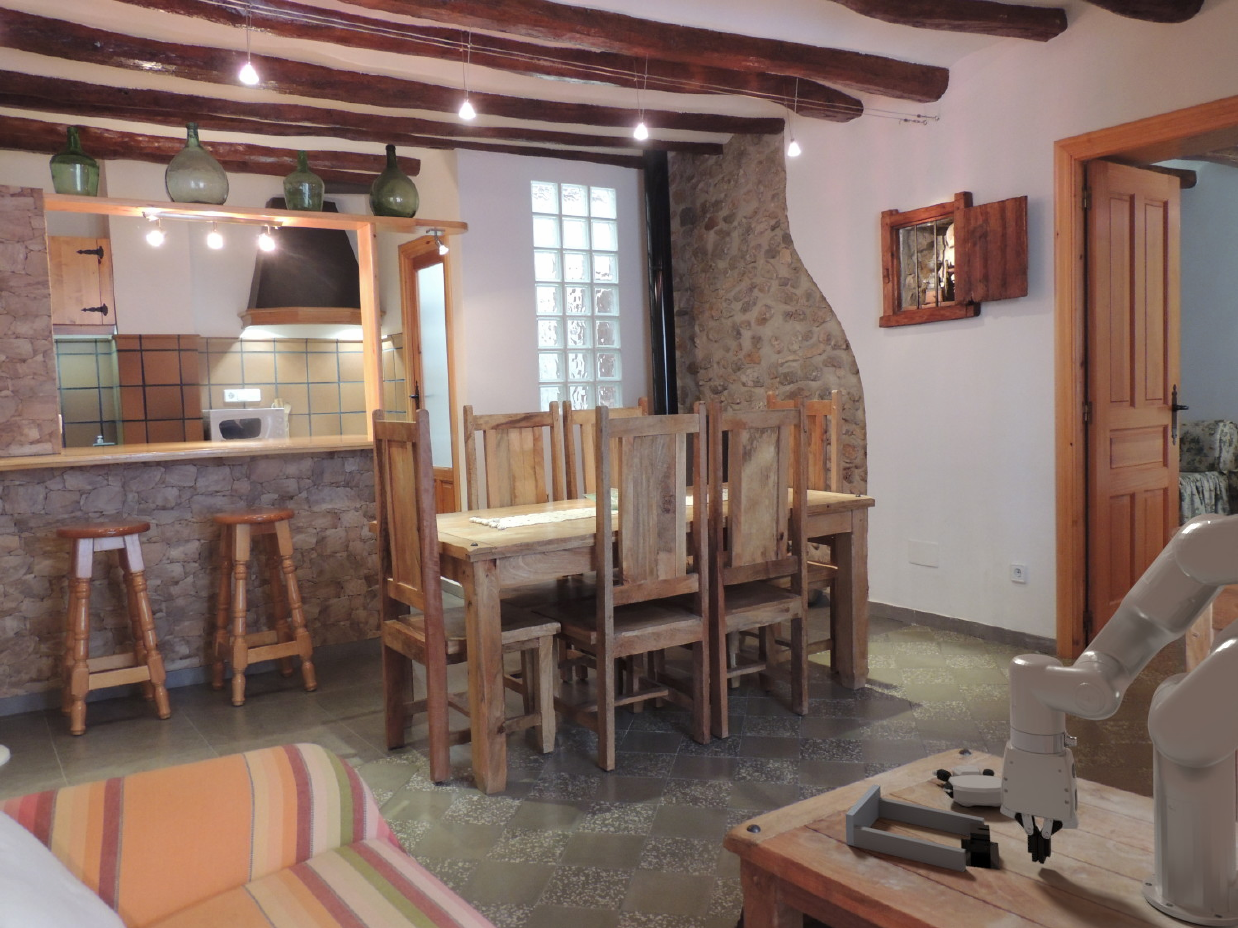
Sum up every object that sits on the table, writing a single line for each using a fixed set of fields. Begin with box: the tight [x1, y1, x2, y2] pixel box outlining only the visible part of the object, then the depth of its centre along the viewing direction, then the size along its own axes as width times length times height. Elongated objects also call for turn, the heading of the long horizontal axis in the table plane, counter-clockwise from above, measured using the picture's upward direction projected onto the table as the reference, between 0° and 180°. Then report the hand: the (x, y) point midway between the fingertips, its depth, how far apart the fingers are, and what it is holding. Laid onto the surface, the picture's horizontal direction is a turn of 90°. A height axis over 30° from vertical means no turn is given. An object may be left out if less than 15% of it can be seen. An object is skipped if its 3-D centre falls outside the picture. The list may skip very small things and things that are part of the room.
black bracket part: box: [960, 823, 1001, 871], centre depth 140 cm, size 12×7×5 cm, turn 159°
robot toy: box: [932, 764, 1002, 808], centre depth 161 cm, size 12×4×15 cm
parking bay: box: [845, 784, 985, 873], centre depth 145 cm, size 18×14×5 cm
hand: (1039, 858), depth 135 cm, fingers closed
